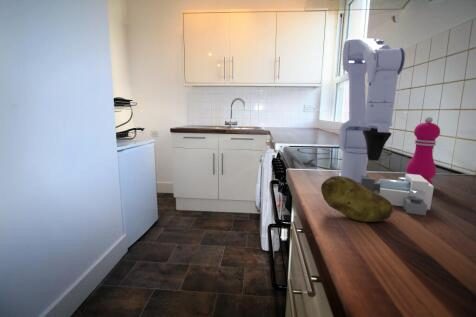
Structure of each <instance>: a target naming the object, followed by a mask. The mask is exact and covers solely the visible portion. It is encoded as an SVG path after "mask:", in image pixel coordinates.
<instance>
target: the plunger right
mask: <svg viewBox="0 0 476 317" xmlns="http://www.w3.org/2000/svg"><path fill="white" fill-rule="evenodd" d="M424 197H425V192H423V191H419V190H409V196H408V199H409V200H412V201H413V202H414V203H418V202H424Z"/></svg>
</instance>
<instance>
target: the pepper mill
mask: <svg viewBox="0 0 476 317" xmlns="http://www.w3.org/2000/svg"><path fill="white" fill-rule="evenodd" d="M413 134H414V137H416V139H414V145H415V149H414V153H413V156H412V157H411V158H410V160H409V161H408V162H407V165H406V169H405V173H406V174H414V175H420V176H422V177H423V178H424V179H425V180H427V181H428V182H429V183H430V184H431V185H433V180H431V179H433V178H434V177H435V176H436V174H437V167H436V163H435V161H434V156H433V154H434V153H433V152H434V151H433V150H434V146H437V140H436V139H437V138H438V137H439V136H440V134H441V129H440V126H439V125H437V124H436V123H433V118H432V117H430V116H428V117H426V118H425V119H424V122H422V123H419V124H417V125H416V127H415V128H414V130H413Z"/></svg>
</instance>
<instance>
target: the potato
mask: <svg viewBox="0 0 476 317" xmlns="http://www.w3.org/2000/svg"><path fill="white" fill-rule="evenodd" d="M320 190H321V195H322V197H323V200H324V202H325V203H327V205H328V207H330V208H332V209H334V210H336V211H338V212H339V213H341V214H343V215H344V216H345V217H347V218H349V219H351V220H354V221H358V222H365V223H369V222H371V223H377V222H381V221H385V220H388V219H389V218H390V217H391V215H392V213H393V205H391V203H390V202H389V201H388V200H387V199H386V198H384V197H383V196H381V195H379V194H377V193H375V192H376V191H374V190H373V191H371V190H369V189H368V188H366V187H364V186H362V185H361V184H360V183H358V182H356V181H355V180H353V179H351V178H348V177H343V176H339V175H334V176H330V177H329V178H327V179H326V180H324V181H323V182H322V183H321V188H320Z"/></svg>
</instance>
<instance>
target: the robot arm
mask: <svg viewBox="0 0 476 317" xmlns="http://www.w3.org/2000/svg"><path fill="white" fill-rule="evenodd" d="M342 48H343V49H342V69H343V70H344V71H345V72H347V75H348V87H349V88H348V102H349V103H348V107H349V108H348V111H349V112H348V120H346V121H345V122H344V123H342V124H341V126H340V128H339V134H338V147H339V149H340V150H342V157H341V159H342V160H341V166H340V172H338V176H343V177H348V178H351V179H353V180H355V181H356V182H358V183H359V184H360V181H361V176H367V169H368V161H379V159H380V158H381V155H382V153H383V150H384V147H385V145H386V143H387V141H388V140H389V138H390V137H391V136H392V132H390V127H392V126H393V121H392V120H393V116H394V114H393V113H394V108H395V99H396V91H397V85H398V78H399V76H398V75H400V74H401V73H402V71H403V69H404V66H405V63H406V52H405V50H404V48H403V47H398V48H392V47H390V45H389V44H388V43H387V44H385V40H383V39H380V38H379V37H375V38H347V39H346V40H345V41H344V44H343V47H342ZM366 75H367V79H366ZM366 80H367V82H366ZM366 83H367V84H368V88H367V95H366ZM366 96H367V97H366Z"/></svg>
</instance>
